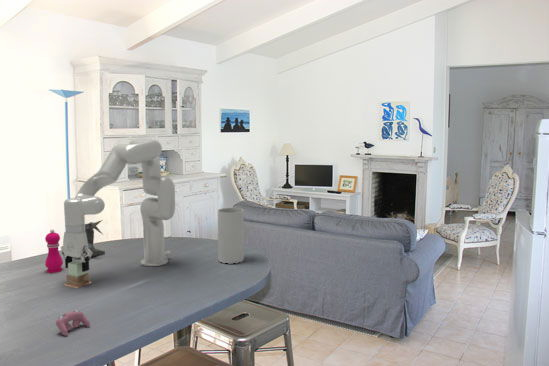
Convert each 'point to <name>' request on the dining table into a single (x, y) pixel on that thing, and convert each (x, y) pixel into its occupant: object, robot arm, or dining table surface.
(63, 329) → the video game controller
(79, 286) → the cream wavy board
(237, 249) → the cylinder vase
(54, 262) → the pepper mill
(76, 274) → the sage block
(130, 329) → the dining table surface
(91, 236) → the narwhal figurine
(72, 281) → the walnut base block
